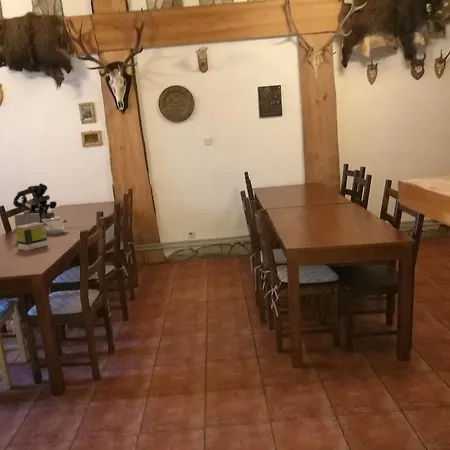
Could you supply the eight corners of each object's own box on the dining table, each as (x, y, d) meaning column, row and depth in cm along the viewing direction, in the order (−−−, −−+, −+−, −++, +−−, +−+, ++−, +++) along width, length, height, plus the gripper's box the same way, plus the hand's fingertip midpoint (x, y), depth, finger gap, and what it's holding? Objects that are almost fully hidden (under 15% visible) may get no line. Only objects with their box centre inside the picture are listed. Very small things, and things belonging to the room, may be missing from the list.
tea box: (39, 244, 343) (36, 221, 340) (48, 245, 336) (45, 223, 333) (18, 248, 331) (15, 225, 328) (26, 250, 325) (23, 227, 322)
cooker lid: (38, 219, 381) (38, 214, 380) (57, 217, 389) (56, 211, 388) (45, 222, 370) (44, 216, 369) (64, 219, 378) (63, 213, 377)
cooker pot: (39, 233, 377) (38, 221, 375) (63, 229, 387) (62, 217, 386) (46, 236, 367) (44, 223, 365) (70, 232, 377) (69, 219, 376)
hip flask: (42, 238, 361) (38, 209, 358) (41, 239, 358) (38, 210, 354) (17, 240, 358) (14, 211, 354) (16, 241, 354) (13, 212, 350)
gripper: (29, 193, 382) (35, 209, 375) (54, 190, 393) (61, 206, 386) (26, 203, 389) (33, 219, 383) (51, 200, 400) (58, 215, 394)
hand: (46, 215), depth 386 cm, fingers closed
